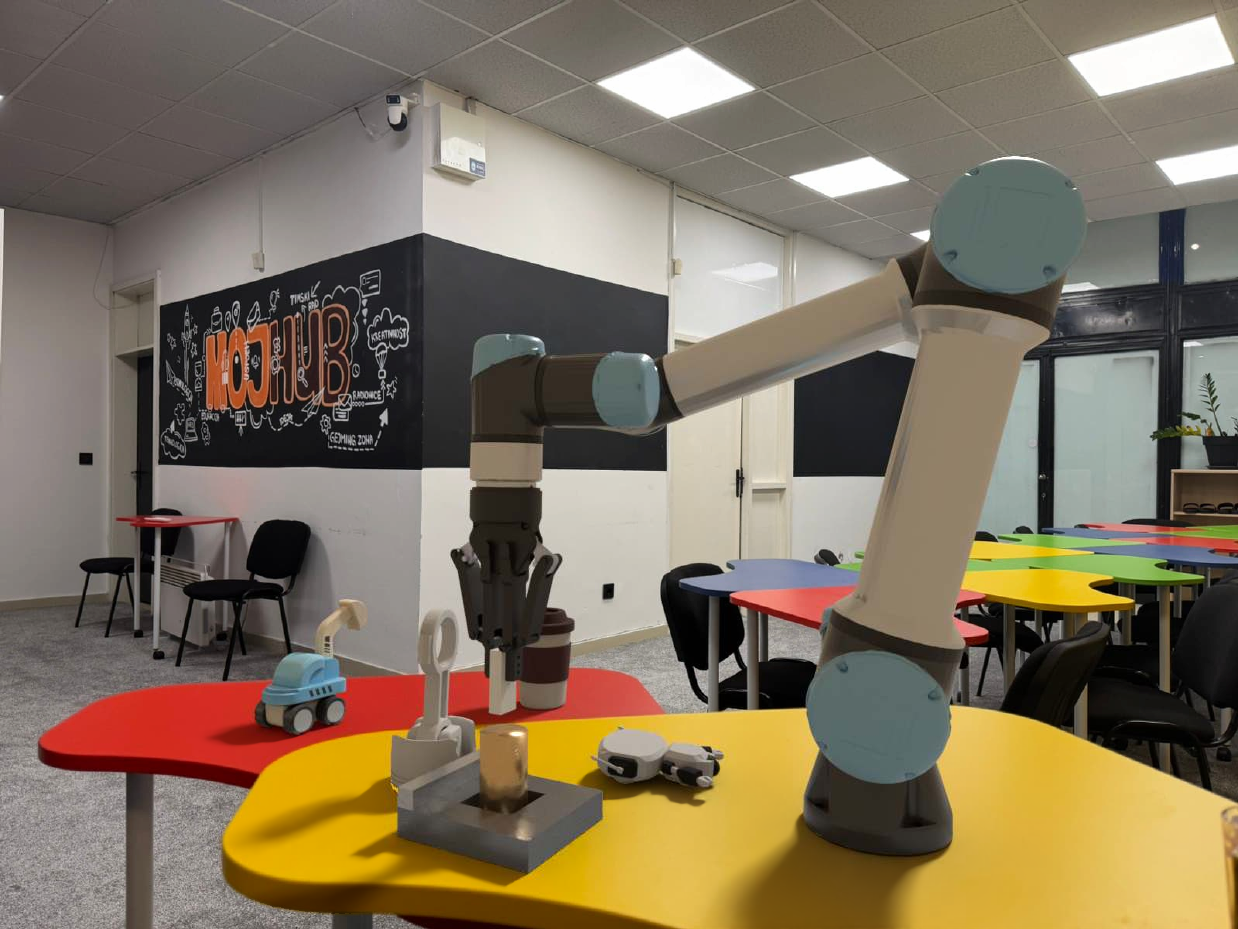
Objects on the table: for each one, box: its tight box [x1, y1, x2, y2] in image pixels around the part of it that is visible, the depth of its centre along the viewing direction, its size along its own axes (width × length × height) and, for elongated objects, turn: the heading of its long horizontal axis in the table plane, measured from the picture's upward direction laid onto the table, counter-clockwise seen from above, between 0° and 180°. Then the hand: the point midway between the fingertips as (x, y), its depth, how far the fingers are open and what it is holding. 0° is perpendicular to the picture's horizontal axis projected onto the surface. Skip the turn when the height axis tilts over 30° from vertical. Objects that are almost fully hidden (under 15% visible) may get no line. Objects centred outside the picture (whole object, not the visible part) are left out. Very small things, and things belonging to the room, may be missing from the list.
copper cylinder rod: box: [479, 723, 529, 815], centre depth 87 cm, size 5×5×10 cm
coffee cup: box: [518, 606, 576, 710], centre depth 133 cm, size 10×10×15 cm
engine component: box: [390, 607, 478, 788], centre depth 100 cm, size 11×20×10 cm
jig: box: [396, 748, 604, 874], centre depth 87 cm, size 16×14×5 cm
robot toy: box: [590, 725, 725, 788], centre depth 102 cm, size 12×4×15 cm
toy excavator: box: [253, 598, 368, 736], centre depth 123 cm, size 9×17×17 cm, turn 148°
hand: (502, 710), depth 87 cm, fingers closed
